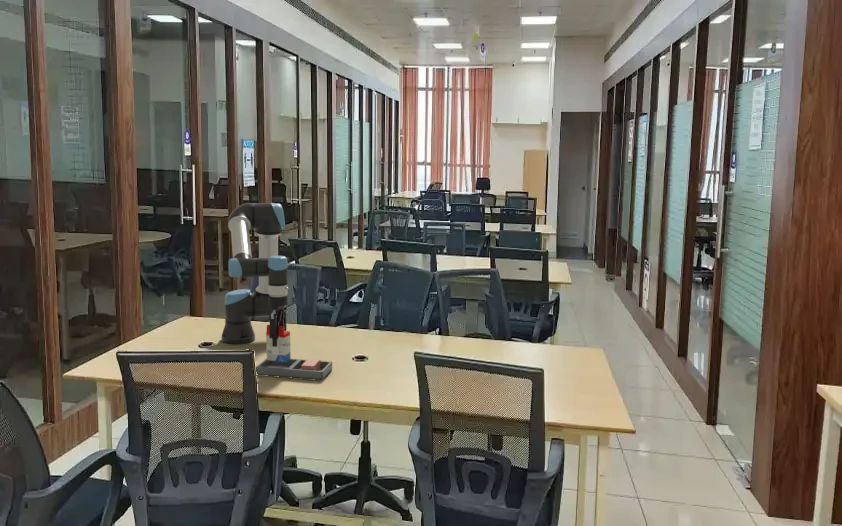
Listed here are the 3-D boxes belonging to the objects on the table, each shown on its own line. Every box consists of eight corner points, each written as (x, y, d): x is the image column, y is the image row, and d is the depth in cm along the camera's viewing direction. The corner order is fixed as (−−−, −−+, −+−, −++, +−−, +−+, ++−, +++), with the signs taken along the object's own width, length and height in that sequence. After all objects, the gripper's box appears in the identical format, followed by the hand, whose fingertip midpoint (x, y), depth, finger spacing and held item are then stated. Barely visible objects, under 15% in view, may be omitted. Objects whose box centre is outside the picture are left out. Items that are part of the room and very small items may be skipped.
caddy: (255, 375, 269) (255, 366, 269) (268, 365, 283) (268, 357, 282) (322, 380, 266) (322, 371, 265) (332, 370, 279) (332, 361, 278)
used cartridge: (301, 375, 269) (301, 365, 268) (308, 368, 278) (308, 358, 277) (313, 375, 268) (313, 366, 268) (320, 369, 277) (320, 359, 276)
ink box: (290, 359, 275) (290, 324, 273) (284, 362, 271) (284, 326, 268) (272, 356, 278) (272, 321, 276) (265, 360, 273) (265, 324, 271)
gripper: (278, 300, 261) (279, 359, 264) (294, 291, 279) (294, 346, 282) (260, 299, 262) (260, 357, 265) (277, 290, 280) (277, 345, 283)
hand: (278, 351), depth 274 cm, fingers closed on ink box, 5 cm apart
